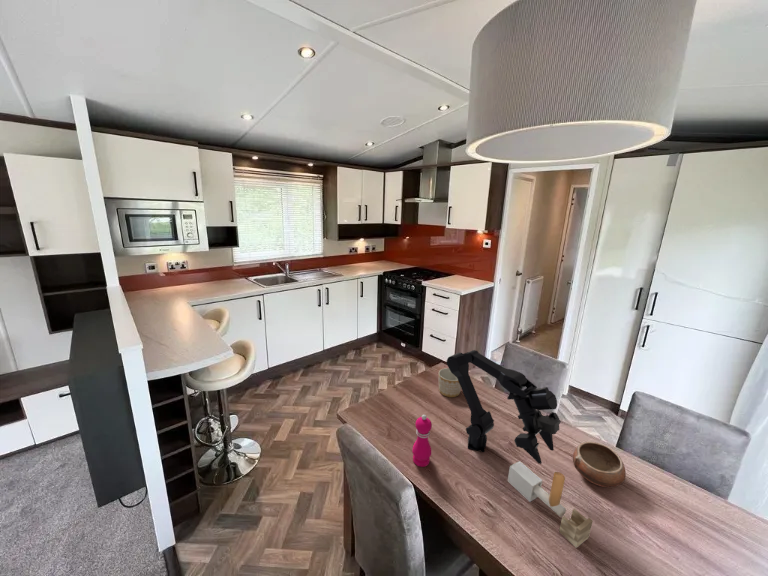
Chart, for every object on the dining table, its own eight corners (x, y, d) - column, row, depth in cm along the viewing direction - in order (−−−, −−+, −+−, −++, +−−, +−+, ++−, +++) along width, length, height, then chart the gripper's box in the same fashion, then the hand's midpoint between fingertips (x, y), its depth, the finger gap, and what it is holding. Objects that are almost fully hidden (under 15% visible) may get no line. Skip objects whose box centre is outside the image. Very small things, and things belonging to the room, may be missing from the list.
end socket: (559, 531, 92) (562, 514, 90) (571, 522, 95) (575, 505, 93) (576, 548, 88) (580, 530, 86) (588, 537, 90) (592, 520, 89)
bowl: (563, 472, 113) (567, 449, 111) (580, 453, 122) (585, 431, 120) (613, 504, 101) (619, 479, 99) (628, 480, 110) (634, 457, 108)
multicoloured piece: (515, 478, 107) (519, 448, 104) (520, 475, 108) (525, 445, 105) (558, 518, 93) (566, 485, 90) (564, 514, 95) (572, 481, 92)
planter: (436, 384, 168) (437, 367, 166) (459, 386, 167) (461, 369, 165) (438, 398, 156) (439, 379, 153) (463, 400, 155) (465, 381, 152)
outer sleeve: (507, 481, 109) (509, 466, 107) (517, 475, 111) (519, 461, 109) (529, 502, 101) (532, 486, 99) (539, 495, 103) (542, 480, 102)
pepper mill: (430, 469, 113) (433, 423, 108) (410, 466, 114) (413, 420, 109) (431, 454, 120) (434, 410, 115) (412, 451, 121) (415, 407, 116)
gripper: (536, 420, 94) (558, 473, 91) (561, 398, 105) (581, 444, 102) (505, 421, 102) (524, 470, 99) (531, 400, 114) (549, 443, 111)
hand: (546, 456), depth 103 cm, fingers open, 9 cm apart
